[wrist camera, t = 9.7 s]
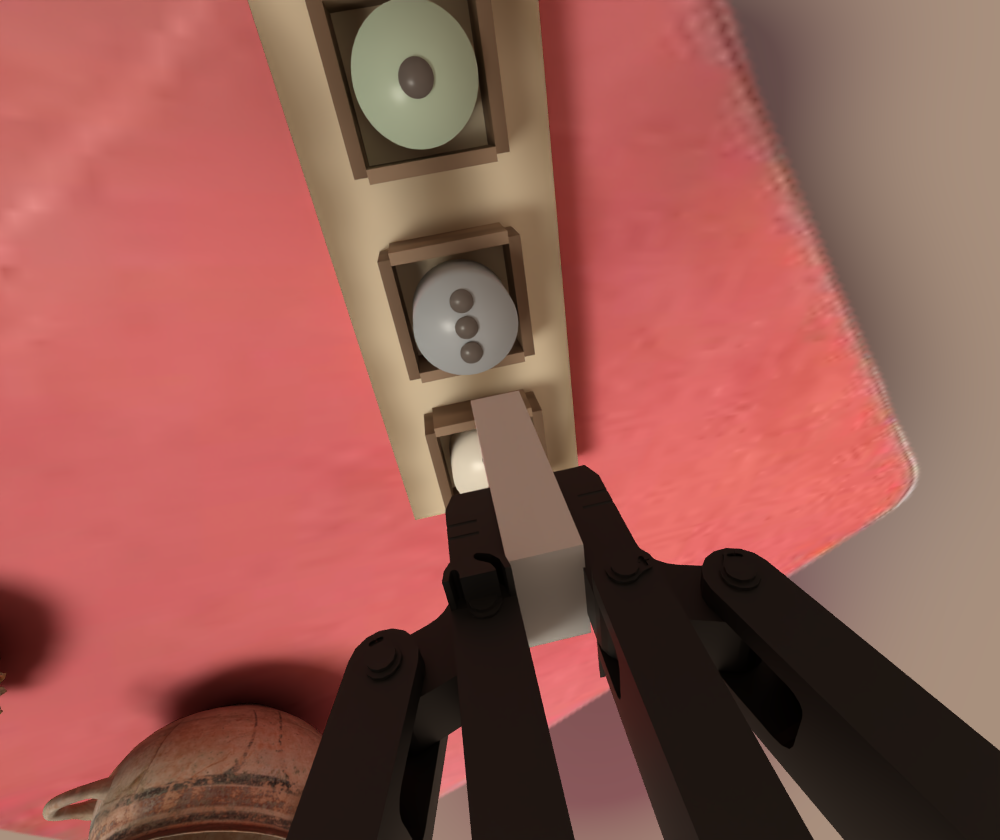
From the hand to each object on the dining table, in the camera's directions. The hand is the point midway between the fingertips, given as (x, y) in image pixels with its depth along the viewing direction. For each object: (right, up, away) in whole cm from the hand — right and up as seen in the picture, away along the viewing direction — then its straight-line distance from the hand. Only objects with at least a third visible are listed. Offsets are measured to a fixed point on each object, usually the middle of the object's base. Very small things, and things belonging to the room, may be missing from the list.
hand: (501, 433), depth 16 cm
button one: (-4, +15, +7) cm, 17 cm away
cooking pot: (-25, -29, +33) cm, 50 cm away
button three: (-2, +6, +11) cm, 13 cm away
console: (-3, +9, +15) cm, 17 cm away
